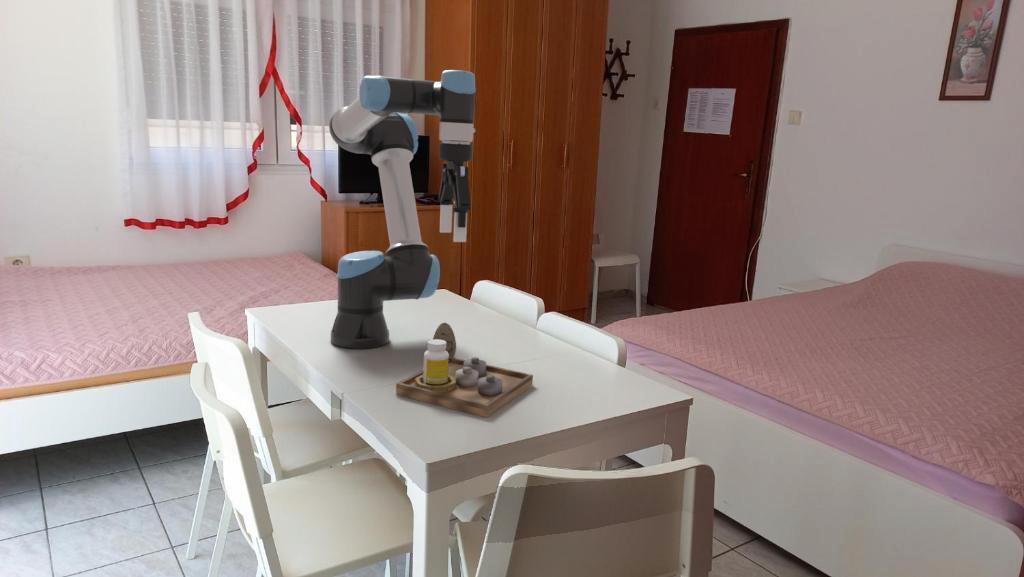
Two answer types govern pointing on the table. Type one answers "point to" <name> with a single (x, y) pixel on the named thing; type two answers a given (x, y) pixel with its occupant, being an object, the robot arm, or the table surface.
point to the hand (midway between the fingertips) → (452, 237)
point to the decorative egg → (446, 338)
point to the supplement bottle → (436, 363)
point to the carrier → (469, 387)
